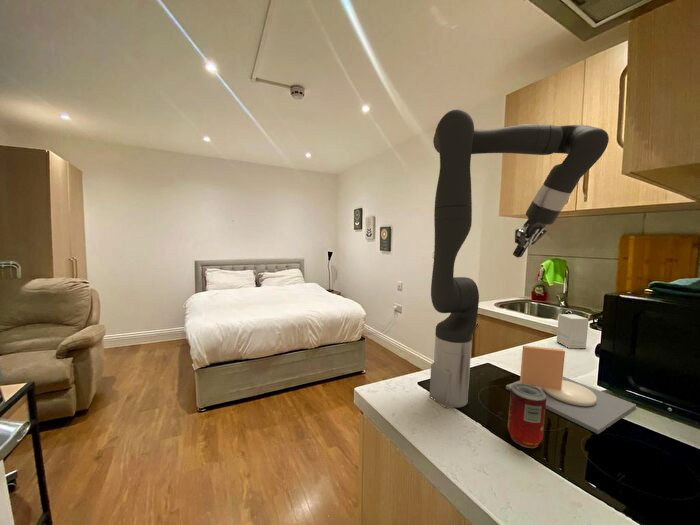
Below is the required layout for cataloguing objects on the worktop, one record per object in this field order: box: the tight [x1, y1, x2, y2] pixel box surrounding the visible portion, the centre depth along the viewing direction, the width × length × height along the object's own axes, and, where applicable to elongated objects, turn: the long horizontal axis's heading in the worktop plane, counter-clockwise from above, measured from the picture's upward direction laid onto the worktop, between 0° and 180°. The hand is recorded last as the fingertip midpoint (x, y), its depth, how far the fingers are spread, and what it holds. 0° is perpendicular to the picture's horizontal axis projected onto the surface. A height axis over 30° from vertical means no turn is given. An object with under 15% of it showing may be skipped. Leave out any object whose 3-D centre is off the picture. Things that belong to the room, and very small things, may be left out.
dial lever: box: [519, 345, 596, 406], centre depth 81 cm, size 18×12×12 cm, turn 77°
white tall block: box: [556, 313, 590, 349], centre depth 121 cm, size 7×7×13 cm
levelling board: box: [505, 376, 637, 435], centre depth 81 cm, size 24×22×3 cm
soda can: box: [507, 383, 547, 449], centre depth 63 cm, size 7×7×12 cm
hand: (516, 255), depth 90 cm, fingers closed
